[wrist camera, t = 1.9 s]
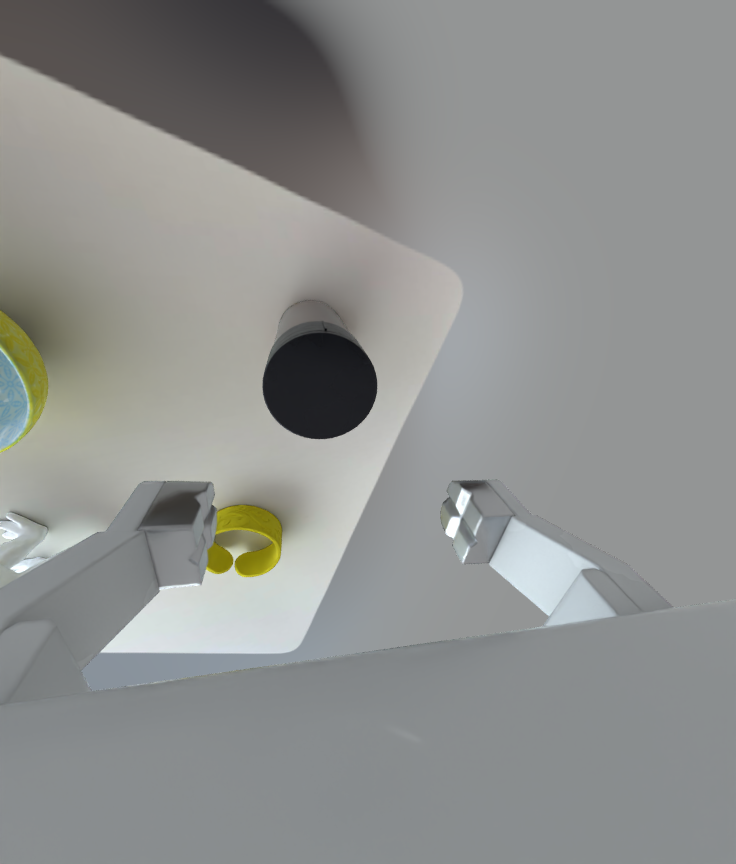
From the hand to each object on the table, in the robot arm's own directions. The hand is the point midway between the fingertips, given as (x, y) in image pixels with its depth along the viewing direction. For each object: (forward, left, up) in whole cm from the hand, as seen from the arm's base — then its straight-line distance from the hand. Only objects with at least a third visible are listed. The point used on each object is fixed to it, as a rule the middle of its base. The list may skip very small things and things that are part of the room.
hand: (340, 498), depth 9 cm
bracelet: (+22, -6, -20) cm, 30 cm away
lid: (0, 0, -8) cm, 8 cm away
